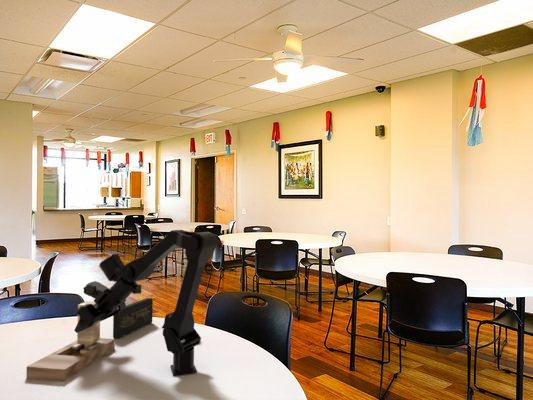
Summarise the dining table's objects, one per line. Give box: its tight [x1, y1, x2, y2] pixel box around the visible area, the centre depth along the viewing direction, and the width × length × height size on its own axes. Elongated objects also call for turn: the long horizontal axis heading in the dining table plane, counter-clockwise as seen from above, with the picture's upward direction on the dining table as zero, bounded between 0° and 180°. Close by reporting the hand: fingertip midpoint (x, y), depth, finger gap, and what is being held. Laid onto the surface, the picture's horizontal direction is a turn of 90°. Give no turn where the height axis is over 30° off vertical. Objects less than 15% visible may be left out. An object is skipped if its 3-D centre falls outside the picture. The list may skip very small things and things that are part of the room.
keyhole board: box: [25, 337, 116, 383], centre depth 116 cm, size 24×11×3 cm, turn 171°
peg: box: [76, 301, 101, 355], centre depth 123 cm, size 5×5×15 cm
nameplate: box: [112, 297, 154, 340], centre depth 147 cm, size 21×2×10 cm, turn 163°
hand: (85, 327), depth 123 cm, fingers open, 9 cm apart
